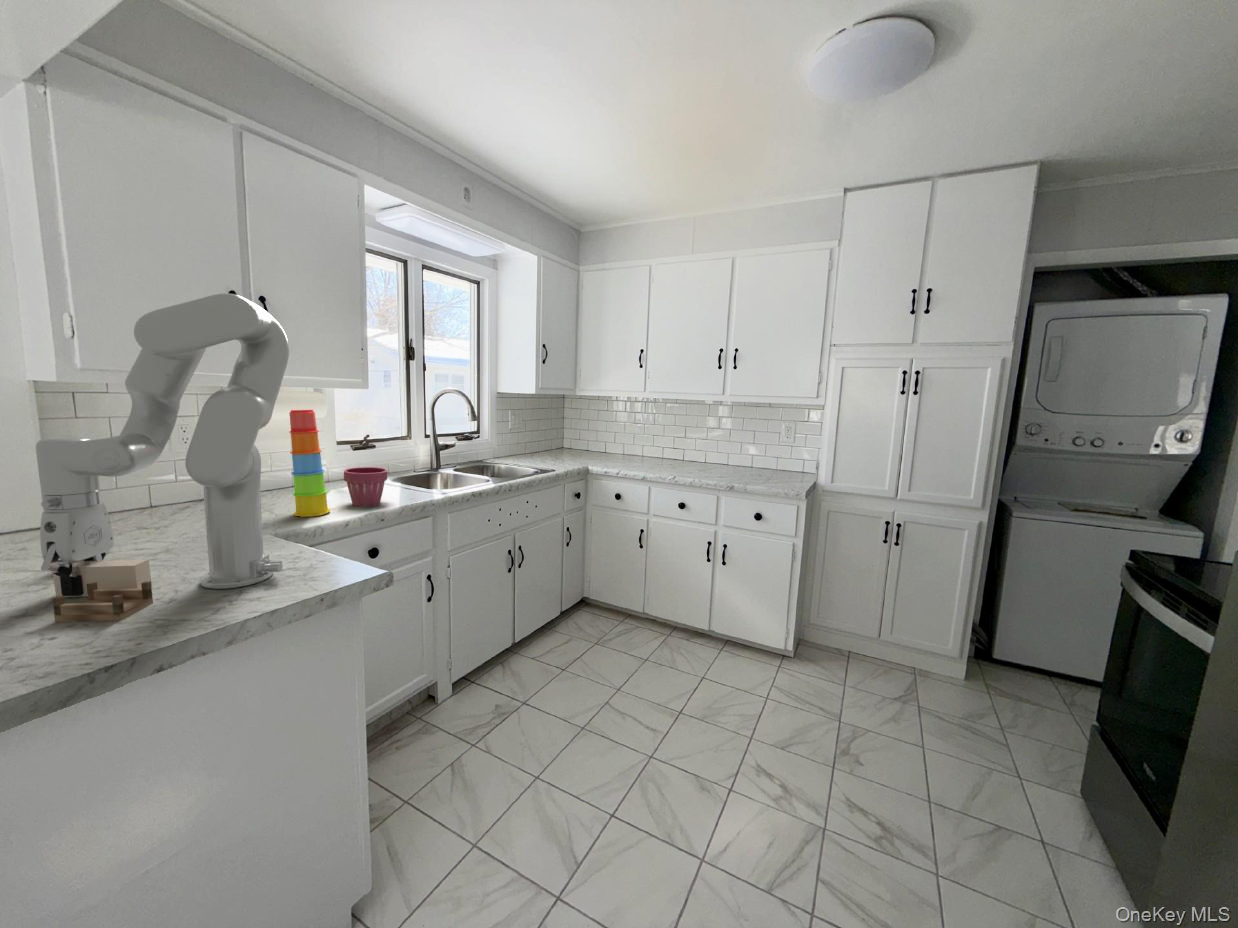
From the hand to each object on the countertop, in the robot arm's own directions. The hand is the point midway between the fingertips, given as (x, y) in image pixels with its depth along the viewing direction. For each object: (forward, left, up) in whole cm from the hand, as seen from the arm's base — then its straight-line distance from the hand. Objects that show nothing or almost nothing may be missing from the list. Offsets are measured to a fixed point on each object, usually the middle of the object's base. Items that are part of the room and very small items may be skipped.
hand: (82, 590), depth 97 cm
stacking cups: (-14, -65, -1) cm, 66 cm away
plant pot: (-26, -80, -1) cm, 84 cm away
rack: (-11, +9, -1) cm, 14 cm away
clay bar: (-4, 0, -1) cm, 4 cm away
